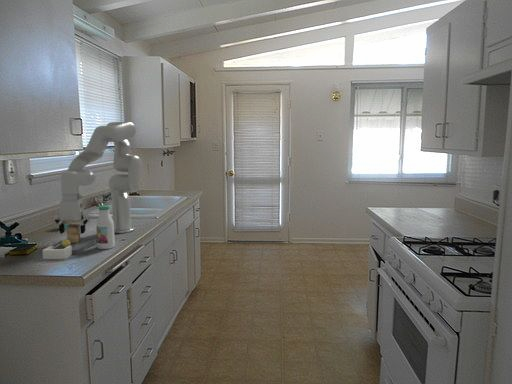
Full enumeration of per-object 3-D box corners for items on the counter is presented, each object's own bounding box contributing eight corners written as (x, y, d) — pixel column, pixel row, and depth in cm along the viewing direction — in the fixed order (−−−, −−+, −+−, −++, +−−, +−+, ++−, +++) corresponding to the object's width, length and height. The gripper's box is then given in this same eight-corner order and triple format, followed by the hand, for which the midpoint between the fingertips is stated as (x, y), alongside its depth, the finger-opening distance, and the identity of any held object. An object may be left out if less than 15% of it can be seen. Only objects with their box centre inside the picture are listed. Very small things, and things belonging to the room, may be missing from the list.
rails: (59, 245, 182) (59, 244, 182) (79, 245, 182) (79, 243, 182) (50, 250, 174) (50, 248, 174) (71, 250, 174) (71, 248, 174)
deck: (61, 244, 190) (61, 240, 190) (92, 244, 190) (92, 240, 190) (44, 254, 174) (44, 250, 174) (78, 254, 174) (78, 250, 174)
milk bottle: (109, 244, 191) (107, 204, 188) (118, 246, 186) (115, 205, 183) (94, 247, 185) (91, 206, 182) (103, 250, 180) (100, 208, 177)
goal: (51, 254, 174) (50, 245, 174) (72, 254, 174) (71, 245, 174) (43, 259, 168) (42, 250, 167) (65, 259, 168) (64, 250, 167)
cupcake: (68, 230, 219) (67, 209, 217) (53, 230, 219) (51, 209, 217) (75, 226, 228) (74, 206, 226) (60, 226, 228) (59, 206, 226)
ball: (64, 245, 181) (63, 238, 180) (72, 245, 181) (71, 238, 180) (60, 248, 177) (60, 240, 177) (68, 248, 177) (68, 240, 177)
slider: (71, 240, 189) (70, 224, 188) (80, 240, 189) (79, 224, 188) (67, 242, 185) (66, 226, 184) (77, 242, 185) (75, 226, 184)
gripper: (92, 196, 187) (93, 231, 189) (56, 196, 187) (58, 231, 189) (85, 198, 180) (87, 234, 182) (48, 198, 180) (50, 234, 182)
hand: (72, 233), depth 186 cm, fingers open, 9 cm apart
